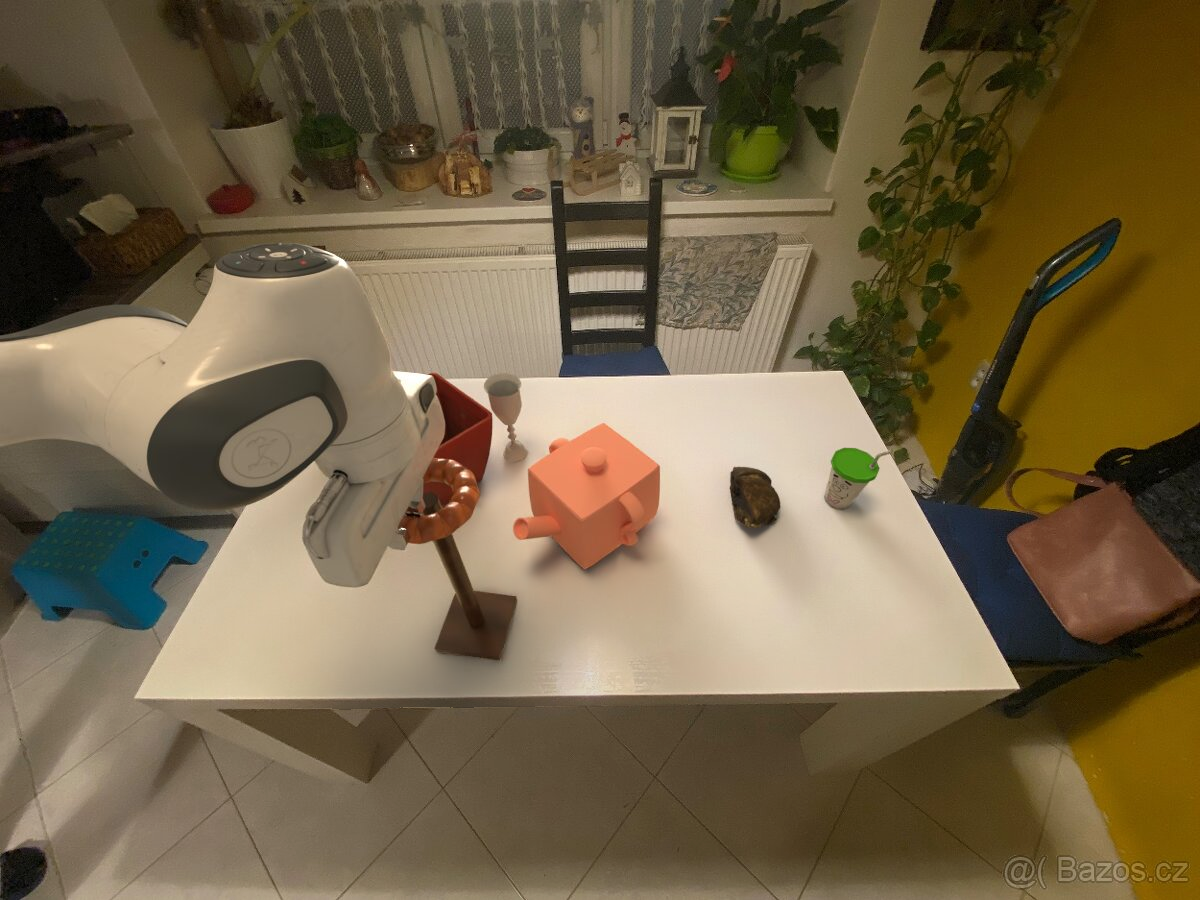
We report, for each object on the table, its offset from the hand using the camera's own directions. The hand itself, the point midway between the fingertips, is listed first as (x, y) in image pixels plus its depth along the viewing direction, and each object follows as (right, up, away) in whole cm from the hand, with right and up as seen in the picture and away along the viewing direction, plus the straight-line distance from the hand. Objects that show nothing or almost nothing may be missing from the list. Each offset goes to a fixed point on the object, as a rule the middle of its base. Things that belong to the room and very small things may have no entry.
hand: (408, 527), depth 54 cm
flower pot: (-12, +2, +48) cm, 49 cm away
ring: (+1, +3, +3) cm, 4 cm away
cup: (+65, -1, +43) cm, 78 cm away
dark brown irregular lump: (+49, -2, +43) cm, 65 cm away
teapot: (+17, -7, +38) cm, 42 cm away
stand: (+1, -19, +26) cm, 33 cm away
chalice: (+2, +7, +53) cm, 53 cm away
